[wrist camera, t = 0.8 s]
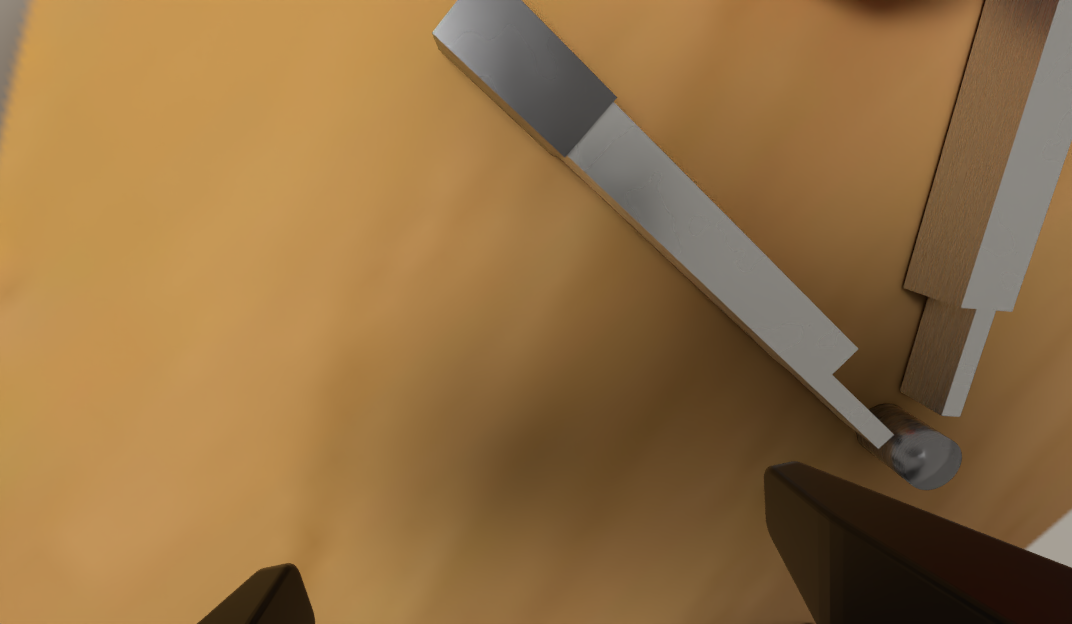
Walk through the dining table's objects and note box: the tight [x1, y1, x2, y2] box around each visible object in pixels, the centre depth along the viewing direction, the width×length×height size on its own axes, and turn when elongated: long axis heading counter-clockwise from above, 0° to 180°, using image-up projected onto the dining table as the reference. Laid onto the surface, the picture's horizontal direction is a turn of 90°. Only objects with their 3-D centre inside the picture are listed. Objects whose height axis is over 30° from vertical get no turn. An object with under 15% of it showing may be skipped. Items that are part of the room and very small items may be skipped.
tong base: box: [857, 0, 1072, 490], centre depth 18 cm, size 22×2×3 cm, turn 174°
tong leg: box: [432, 0, 894, 449], centre depth 17 cm, size 19×2×3 cm, turn 48°
